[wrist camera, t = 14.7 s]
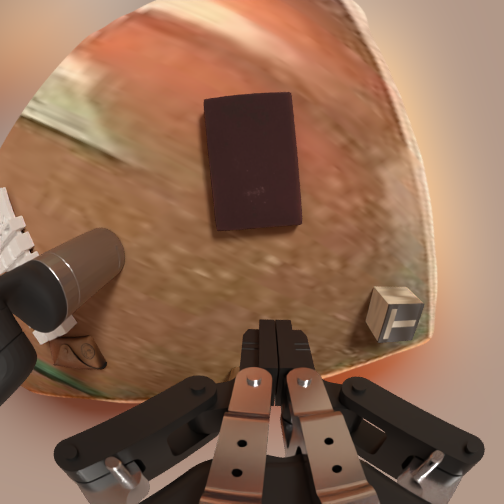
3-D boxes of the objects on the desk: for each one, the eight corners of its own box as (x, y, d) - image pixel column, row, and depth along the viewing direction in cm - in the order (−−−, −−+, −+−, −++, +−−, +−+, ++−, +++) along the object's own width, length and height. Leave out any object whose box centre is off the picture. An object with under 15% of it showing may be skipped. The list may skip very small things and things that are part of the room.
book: (289, 96, 35) (292, 90, 32) (300, 221, 41) (303, 225, 38) (206, 104, 36) (201, 99, 33) (218, 227, 42) (215, 232, 38)
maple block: (411, 340, 39) (396, 320, 45) (424, 304, 36) (406, 286, 43) (378, 342, 39) (365, 321, 45) (389, 305, 37) (373, 286, 43)
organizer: (40, 344, 46) (-22, 216, 37) (51, 334, 50) (-9, 211, 41) (66, 333, 44) (-3, 186, 35) (78, 322, 48) (11, 183, 39)
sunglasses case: (91, 333, 48) (86, 361, 44) (109, 346, 54) (106, 373, 49) (45, 334, 50) (39, 358, 46) (62, 346, 55) (58, 369, 51)
